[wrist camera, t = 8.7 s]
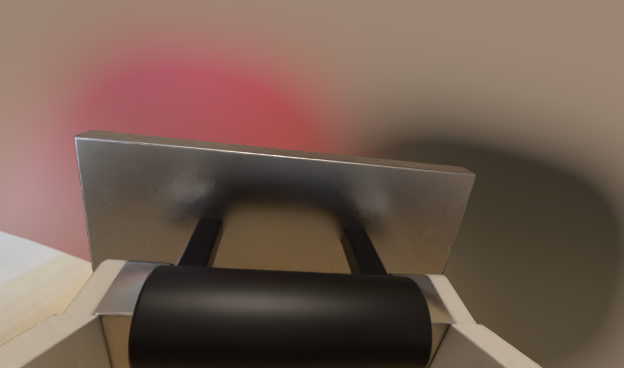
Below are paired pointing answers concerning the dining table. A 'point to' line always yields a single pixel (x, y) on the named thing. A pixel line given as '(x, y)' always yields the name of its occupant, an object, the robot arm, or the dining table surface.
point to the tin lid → (270, 250)
